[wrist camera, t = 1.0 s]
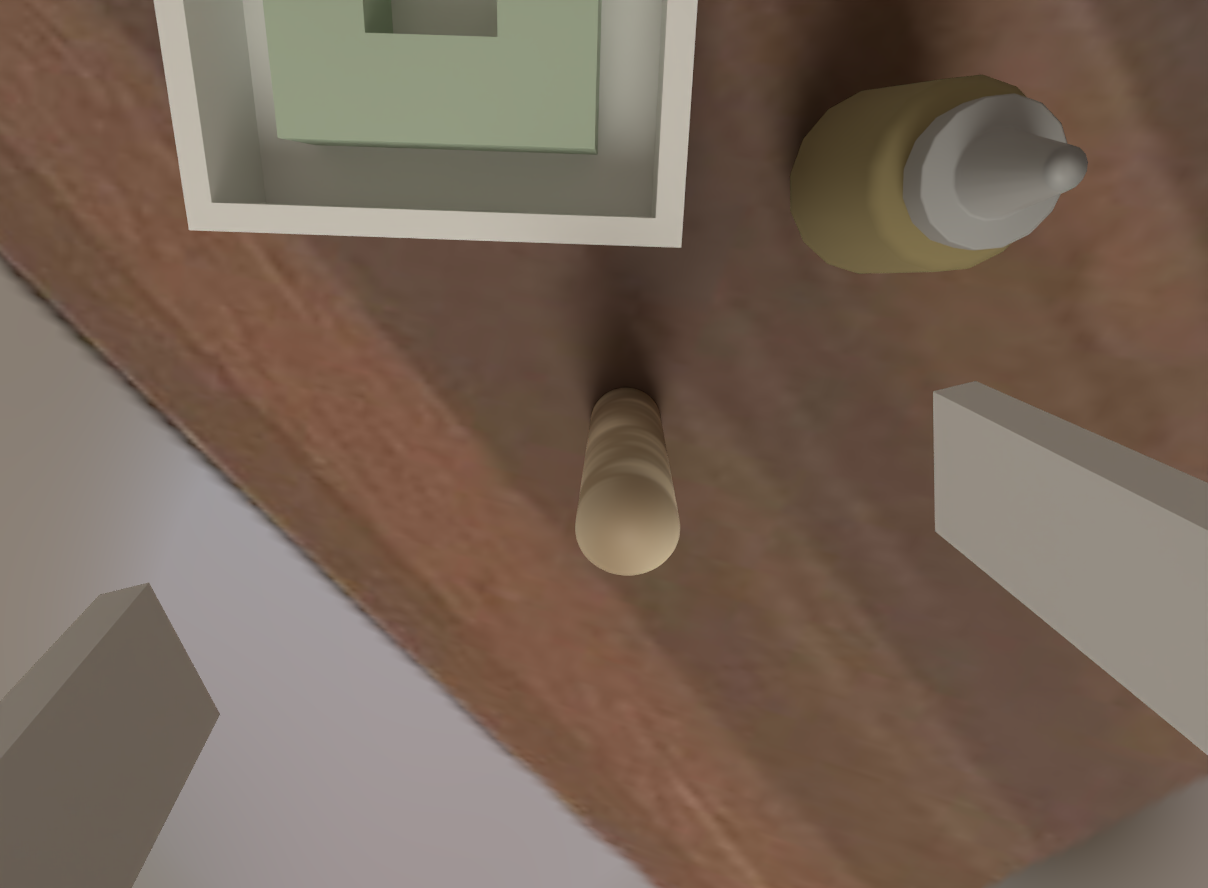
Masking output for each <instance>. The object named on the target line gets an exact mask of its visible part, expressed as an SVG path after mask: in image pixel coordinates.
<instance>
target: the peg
mask: <svg viewBox="0 0 1208 888" xmlns="http://www.w3.org/2000/svg"><path fill="white" fill-rule="evenodd" d="M575 530H576V538H577V541H578V544H579V546H580V548H581V550H582V552H583V553H584V555H585V556H586V557H587V558H588V559H589V560H590V561H591V562H592V563H593V564H594V565H596V566H597V567H599V568H600V569H603V570H605V571H607V572H610V573H613V574H618V575H638V574H642V573H646V572H648V571H651V570H653V569H655V568H657V567H658V566H660V565H661V564H662V563H664V562H665V561H666V560H667V559H668V558H669V556H670V555H671V554H672V552H673V551H674V549H675V547H676V545H677V543H678V539H679V534H680V522H679V516H678V510H677V505H676V499H675V494H674V488H673V483H672V477H671V472H670V466H669V461H668V455H667V450H666V444H665V439H664V434H663V428H662V423H661V417H660V412H659V409H658V407H657V405H656V403H655V402H654V401H653V399H652V398H651V397H650V396H649V395H647V394H646V393H644V392H642V391H640V390H638V389H634V388H627V387H626V388H617V389H614V390H611V391H609V392H607V393H606V394H604V395H603V396H602V397H601V398H600V399H599V400H598V401H597V403H596V404H595V406H594V408H593V411H592V414H591V420H590V427H589V434H588V441H587V448H586V455H585V462H584V469H583V475H582V482H581V489H580V496H579V503H578V510H577V517H576V525H575Z"/></svg>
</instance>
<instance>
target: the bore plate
mask: <svg viewBox="0 0 1208 888" xmlns="http://www.w3.org/2000/svg"><path fill="white" fill-rule="evenodd" d="M263 9H264V18H265V27H266V36H267V45H268V54H269V63H270V72H271V81H272V91H273V100H274V109H275V118H276V127H277V136H278V138H281V139H286V140H291V141H297V142H302V143H307V144H312V145H325V146H355V147H384V148H413V149H442V150H472V151H501V152H530V153H560V154H589V155H597V154H598V118H599V82H600V46H601V10H602V0H497V36H498V37H483V36H452V35H421V34H393V23H392V6H391V0H263Z"/></svg>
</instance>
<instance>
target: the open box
mask: <svg viewBox="0 0 1208 888" xmlns="http://www.w3.org/2000/svg"><path fill="white" fill-rule="evenodd" d="M697 3H698V0H602V10H601V46H600V82H599V118H598V154H597V155H589V154H560V153H530V152H501V151H472V150H442V149H413V148H384V147H355V146H325V145H312V144H307V143H302V142H297V141H291V140H286V139H281V138H278V136H277V127H276V118H275V109H274V100H273V91H272V81H271V72H270V63H269V54H268V45H267V36H266V27H265V18H264V9H263V0H154V6H155V12H156V19H157V25H158V32H159V38H160V45H161V51H162V58H163V64H164V71H165V77H166V84H167V90H168V97H169V103H170V110H171V116H172V122H173V129H174V135H175V142H176V148H177V155H178V161H179V168H180V174H181V181H182V187H183V194H184V200H185V207H186V213H187V220H188V226H189V230H200V231H228V232H257V233H285V234H313V235H341V236H369V237H397V238H425V239H453V240H481V241H509V242H537V243H565V244H593V245H621V246H649V247H678V248H681V243H682V228H683V213H684V198H685V183H686V168H687V153H688V138H689V123H690V108H691V93H692V78H693V63H694V48H695V33H696V18H697ZM391 6H392V23H393V34H421V35H452V36H483V37H498V36H497V0H391Z"/></svg>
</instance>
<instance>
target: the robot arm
mask: <svg viewBox="0 0 1208 888" xmlns="http://www.w3.org/2000/svg"><path fill="white" fill-rule="evenodd" d="M933 416H934V485H935V531H936V532H937V533H938V534H939V535H940V536H942V537H943V538H944V539H945V540H947V541H948V542H949V543H950V544H951V545H953V546H954V547H955V548H956V549H958V550H959V551H960V552H961V553H962V554H964V555H965V556H966V557H967V558H968V559H970V560H971V561H972V562H973V563H975V564H976V565H977V566H978V567H979V568H981V569H982V570H983V571H984V572H986V573H987V574H988V575H989V576H990V577H992V578H993V579H994V580H995V581H996V582H998V583H999V584H1000V585H1001V586H1003V587H1004V588H1005V589H1006V590H1007V591H1009V592H1010V593H1011V594H1012V595H1013V596H1015V597H1016V598H1017V599H1018V600H1020V601H1021V602H1022V603H1023V604H1024V605H1026V606H1027V607H1028V608H1029V609H1031V610H1032V611H1033V612H1034V613H1035V614H1037V615H1038V616H1039V617H1040V618H1041V619H1043V620H1044V621H1045V622H1046V623H1048V624H1049V625H1050V626H1051V627H1052V628H1054V629H1055V630H1056V631H1057V632H1059V633H1060V634H1061V635H1062V636H1063V637H1065V638H1066V639H1067V640H1068V641H1069V642H1071V643H1072V644H1073V645H1074V646H1076V647H1077V648H1078V649H1079V650H1080V651H1082V652H1083V653H1084V654H1085V655H1087V656H1088V657H1089V658H1090V659H1091V660H1093V661H1094V662H1095V663H1096V664H1097V665H1099V666H1100V667H1101V668H1102V669H1104V670H1105V671H1106V672H1107V673H1108V674H1110V675H1111V676H1112V677H1113V678H1114V679H1116V680H1117V681H1118V682H1119V683H1121V684H1122V685H1123V686H1124V687H1125V688H1127V689H1128V690H1129V691H1130V692H1132V693H1133V694H1134V695H1135V696H1136V697H1138V698H1139V699H1140V700H1141V701H1142V702H1144V703H1145V704H1146V705H1147V706H1149V707H1150V708H1151V709H1152V710H1153V711H1155V712H1156V713H1157V714H1158V715H1160V716H1161V717H1162V718H1163V719H1164V720H1166V721H1167V722H1168V723H1169V724H1170V725H1172V726H1173V727H1174V728H1175V729H1177V730H1178V731H1179V732H1180V733H1181V734H1183V735H1184V736H1185V737H1186V738H1187V739H1189V740H1190V741H1191V742H1192V743H1194V744H1195V745H1196V746H1197V747H1198V748H1200V749H1201V750H1202V751H1203V752H1205V753H1206V754H1207V755H1208V483H1207V482H1204V481H1202V480H1200V479H1198V478H1195V477H1193V476H1191V475H1188V474H1186V473H1184V472H1182V471H1179V470H1177V469H1175V468H1172V467H1170V466H1168V465H1166V464H1163V463H1161V462H1159V461H1157V460H1154V459H1152V458H1150V457H1147V456H1145V455H1143V454H1141V453H1138V452H1136V451H1134V450H1131V449H1129V448H1127V447H1125V446H1122V445H1120V444H1118V443H1116V442H1113V441H1111V440H1109V439H1106V438H1104V437H1102V436H1100V435H1097V434H1095V433H1093V432H1090V431H1088V430H1086V429H1084V428H1081V427H1079V426H1077V425H1075V424H1072V423H1070V422H1068V421H1065V420H1063V419H1061V418H1059V417H1056V416H1054V415H1052V414H1050V413H1047V412H1045V411H1043V410H1040V409H1038V408H1036V407H1034V406H1031V405H1029V404H1027V403H1024V402H1022V401H1020V400H1018V399H1015V398H1013V397H1011V396H1009V395H1006V394H1004V393H1002V392H999V391H997V390H995V389H993V388H990V387H988V386H986V385H983V384H981V383H979V382H977V381H974V382H970V383H966V384H962V385H958V386H954V387H950V388H946V389H941V390H937V391H933ZM219 715H220V713H219V712H218V710H217V708H216V707H215V704H214V703H213V701H212V699H211V697H210V695H209V693H208V691H207V689H206V687H205V686H204V684H203V682H202V680H201V678H200V676H199V675H198V673H197V671H196V669H195V667H194V665H193V663H192V662H191V660H190V658H189V656H188V654H187V652H186V650H185V649H184V647H183V645H182V643H181V641H180V639H179V637H178V636H177V634H176V632H175V630H174V628H173V627H172V625H171V623H170V621H169V619H168V617H167V615H166V613H165V612H164V610H163V608H162V606H161V604H160V602H159V600H158V599H157V597H156V595H155V593H154V591H153V589H152V588H151V586H150V584H149V583H146V584H141V585H137V586H133V587H129V588H125V589H121V590H117V591H113V592H109V593H105V594H100V595H99V596H98V597H97V598H96V599H95V600H94V601H93V602H92V604H91V605H90V606H89V607H88V608H87V609H86V610H85V611H84V612H83V613H82V615H81V616H79V617H78V619H77V620H76V621H75V622H74V623H73V624H72V625H71V626H70V627H69V628H68V629H67V630H66V631H65V632H64V634H63V635H62V636H61V637H60V638H59V639H58V640H57V641H56V642H55V643H54V644H53V645H52V646H51V647H50V648H49V649H48V651H47V652H46V653H45V654H44V655H43V656H42V657H41V658H40V659H39V660H38V661H37V662H36V663H35V664H34V666H33V667H32V668H31V669H30V670H29V671H28V672H27V673H26V674H25V675H24V676H23V677H22V678H21V679H20V681H19V682H18V683H17V684H16V685H15V686H14V687H13V688H12V689H11V690H10V691H9V692H8V693H7V694H6V696H5V697H4V698H3V699H2V700H1V701H0V888H132V886H133V884H134V882H135V880H136V878H137V876H138V874H139V872H140V870H141V869H142V867H143V865H144V863H145V861H146V858H147V857H148V855H149V853H150V851H151V849H152V847H153V845H154V843H155V841H156V839H157V837H158V835H159V833H160V831H161V829H162V827H163V825H164V823H165V821H166V819H167V817H168V815H169V813H170V812H171V810H172V807H173V806H174V804H175V801H176V800H177V798H178V796H179V794H180V792H181V790H182V788H183V786H184V784H185V782H186V780H187V778H188V776H189V774H190V772H191V770H192V768H193V766H194V764H195V762H196V760H197V758H198V756H199V755H200V752H201V750H202V748H203V747H204V745H205V743H206V741H207V739H208V737H209V735H210V733H211V731H212V729H213V727H214V725H215V723H216V721H217V719H218V717H219Z"/></svg>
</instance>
